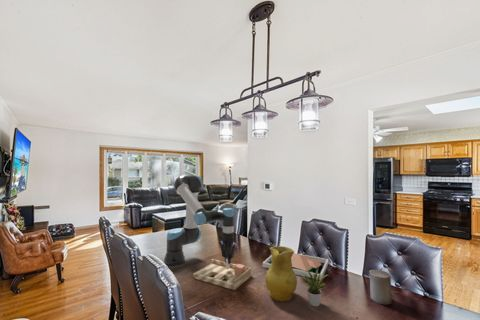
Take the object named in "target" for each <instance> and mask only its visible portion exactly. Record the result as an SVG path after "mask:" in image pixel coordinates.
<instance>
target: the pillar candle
mask: <svg viewBox="0 0 480 320" xmlns="http://www.w3.org/2000/svg"><path fill="white" fill-rule="evenodd" d="M391 280H392V279H391V274H390V273H389V272H387V271H384V270H380V269H371V270H369V290H370V293H369V294H370V299H371V300H372V301H373V302H374V303H377V304H380V305H391V304H392V301H393V300H392V283H391V282H392V281H391Z"/></svg>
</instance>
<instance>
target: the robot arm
mask: <svg viewBox="0 0 480 320" xmlns="http://www.w3.org/2000/svg"><path fill="white" fill-rule="evenodd" d="M203 187H204V181H203V179H202V177H201V176H200V175H197V174H196V175H194V174H193V175H191V174H190V175H180V176H178V177H177V178H176V179H175V181H174V184H173V188H174V191H175V192H176V194H177V195H180V197H181V198H182V200H183V201H184V203H185V204H186V205H185V206H186V207H185V208H186V209H185V223H184V225H183V227H182V228H180V227H177V228H172V229H170V230H169V231H168V232H167V233H166V252H165V255H164V258H163V263H165V264H164V265H167V266H178V265H182V264H183V263H184V262H185V261H186V257H185V253H184V251H183V247H184V246H186V245H190V244H195V243H197V242H198V241H200V239H201V236H202V232H201V229H200V227H199V225H204V224H208V223H214V222H221V223H222V233H221V234H222V236H221V237H222V240H221V241H219V242H218V244H219V247H220V251H221V257H223V258H224V262H225V263H226V269H229V268H230V263H232V259H233V258H235V257H234V256H235V253H236V247H237V246H238V243H236V242H235V240H234V238H235V234H234V232H235V223H234V222H235V218H234V217H235V211H234V208H232V207H225V208H223V209H219V208H213V209H211V210H206V209H205V208H204V207H203V205H202V203H200V201H199V200H198V195H199V194H200V192H201V191H200V190H202V189H203Z"/></svg>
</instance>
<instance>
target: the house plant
mask: <svg viewBox="0 0 480 320" xmlns="http://www.w3.org/2000/svg"><path fill="white" fill-rule="evenodd" d="M306 271H307V272H308V273H309V275H310V279H309V277H307V276H306V275H305V274H304V275H305V276H306V277H305V276H302V275H301V277H302V278H303V280H304V281H302V283H305V284H306V286H307V287H308V288H307V292H306V293H307V296H308V297H307V298H308V303H309V305H310V306H313V307H319V306H320V305H321V299H322V289H324V288H325V286H326V284H325V283H323V281H324V279H325V277H327V276H328V274H324V275H323V277H322V278H321V279H320V280H319V278H320V274H321V272H320V273H319V270H318V268H316V271H314V272H313V271H312V272H311V271H309V270H306ZM310 272H311V273H315V274H314V278H313V277H312V275H311V273H310ZM302 274H303V273H302ZM317 274H319V276H318V278H317ZM321 282H322V283H321Z"/></svg>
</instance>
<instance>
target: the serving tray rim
mask: <svg viewBox="0 0 480 320" xmlns="http://www.w3.org/2000/svg"><path fill="white" fill-rule="evenodd" d="M294 253H295V254H297V253H296V252H294ZM298 254H299V255H302V256H306V257H309V258H312V259H316V260H319V261H322V262H320V263H321V264H324V265H323V266H322V269H321V270H320V273H321V274H320V273H318V274H317V278H318V276H319V274H320V278H319V281H320V279H321V278H322V277H323V276H325V273H326V270H327V268H328V266H329V258H323V257H318V256H312V255H306V254H300V253H298ZM271 261H272V254H270V255H269V257H267V258H266V259H265V260H263V262H262V268H264V269H269V268H270V266H271ZM293 271H294V272H295V274H296V276H301V275H302V276H304V277H305V278H307V277H308V278H310V275H309V273H308V272H307V271H304V270H301V269H298V268H296V269H294V268H293ZM309 272H310V273H311V275H312V277H313V279H314V274H315V273H316V272H314V273H313V272H311V271H309ZM302 273H303V274H302ZM304 274H305V275H306V276H307V277H306V276H305V275H304ZM302 276H301V277H302ZM310 279H311V278H310Z"/></svg>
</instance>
